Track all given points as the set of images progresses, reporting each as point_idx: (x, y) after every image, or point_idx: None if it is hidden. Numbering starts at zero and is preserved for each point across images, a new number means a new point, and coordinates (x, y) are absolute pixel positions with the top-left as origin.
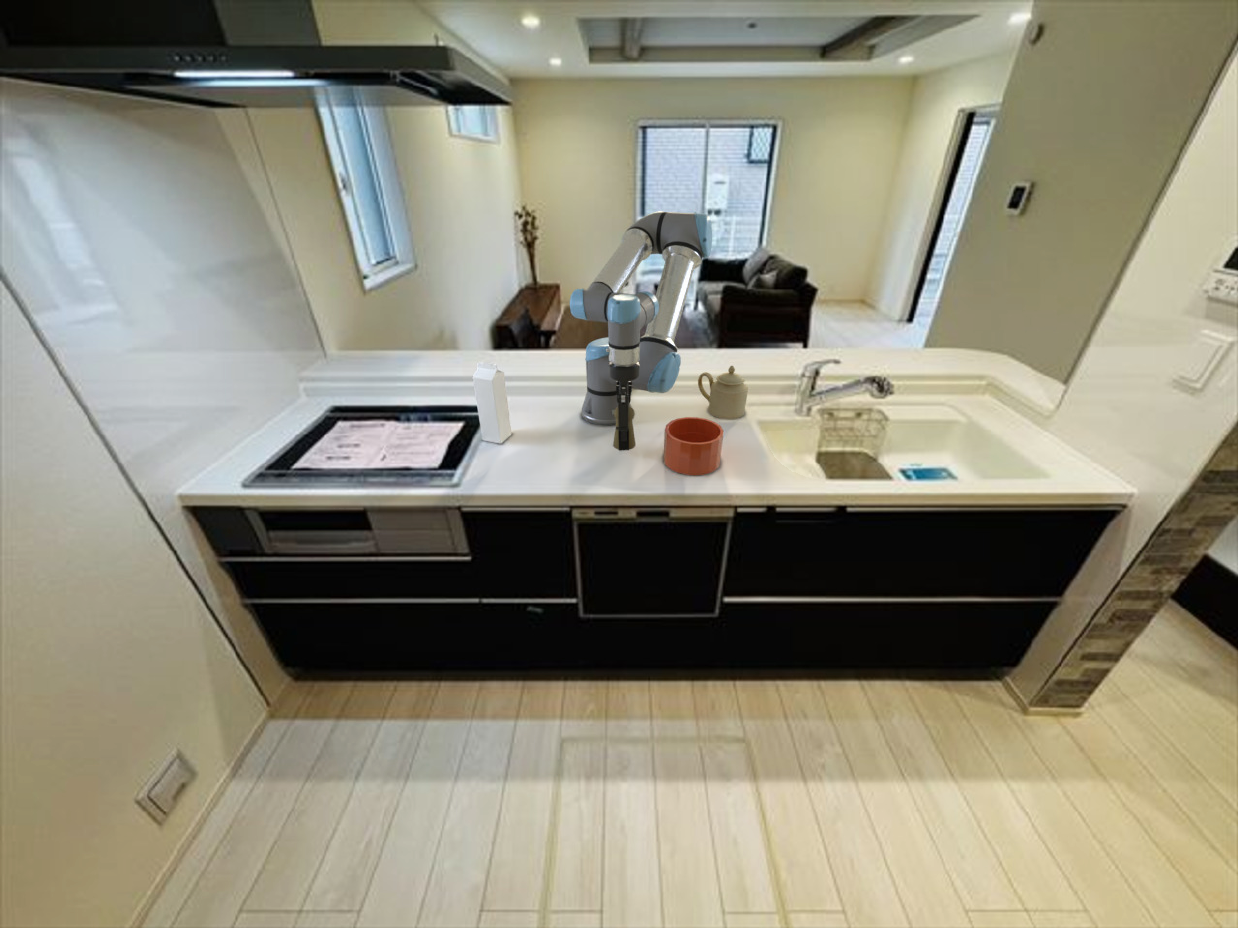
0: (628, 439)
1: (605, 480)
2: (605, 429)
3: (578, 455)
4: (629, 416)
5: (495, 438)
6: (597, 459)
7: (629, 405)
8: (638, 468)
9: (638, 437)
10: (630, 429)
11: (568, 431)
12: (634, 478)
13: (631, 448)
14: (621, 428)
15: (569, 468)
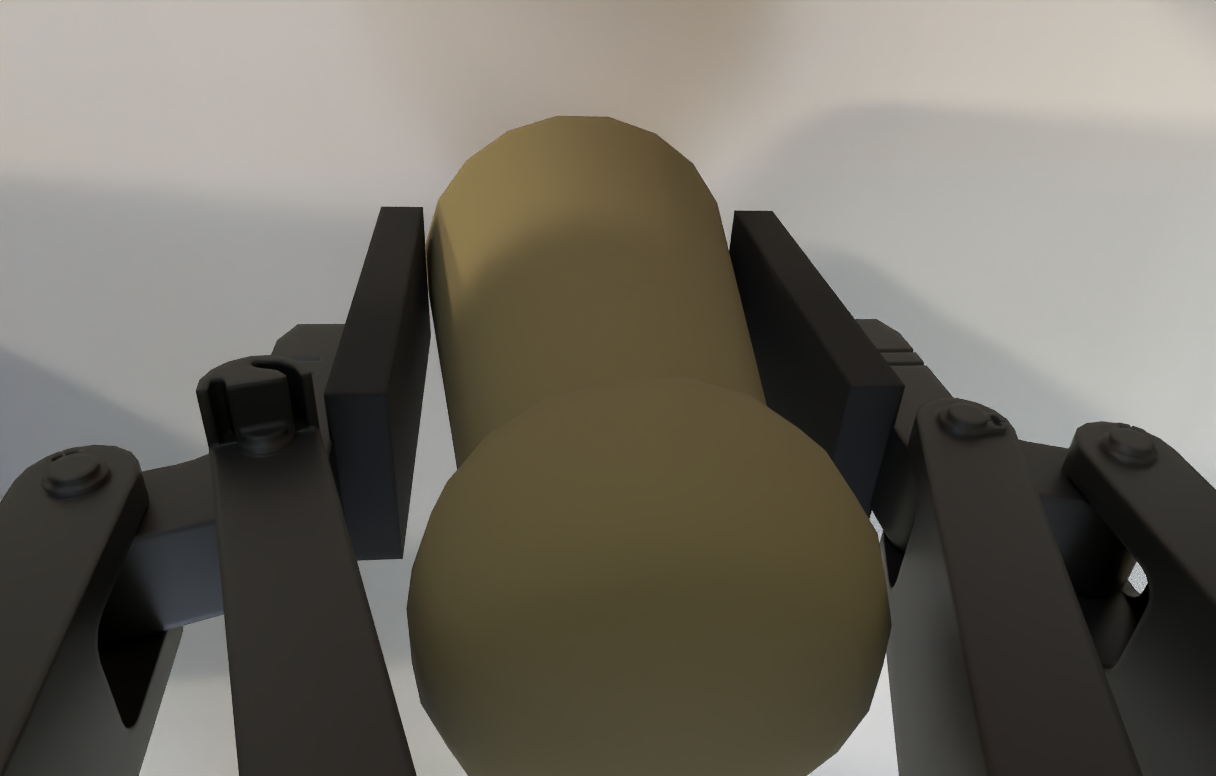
0: (827, 290)
1: (1141, 388)
2: None
3: None
4: (863, 518)
5: None
6: None
7: (78, 511)
8: (1017, 56)
9: (183, 39)
10: (728, 316)
11: (225, 742)
12: (1209, 108)
13: (696, 173)
14: (1132, 563)
15: None
